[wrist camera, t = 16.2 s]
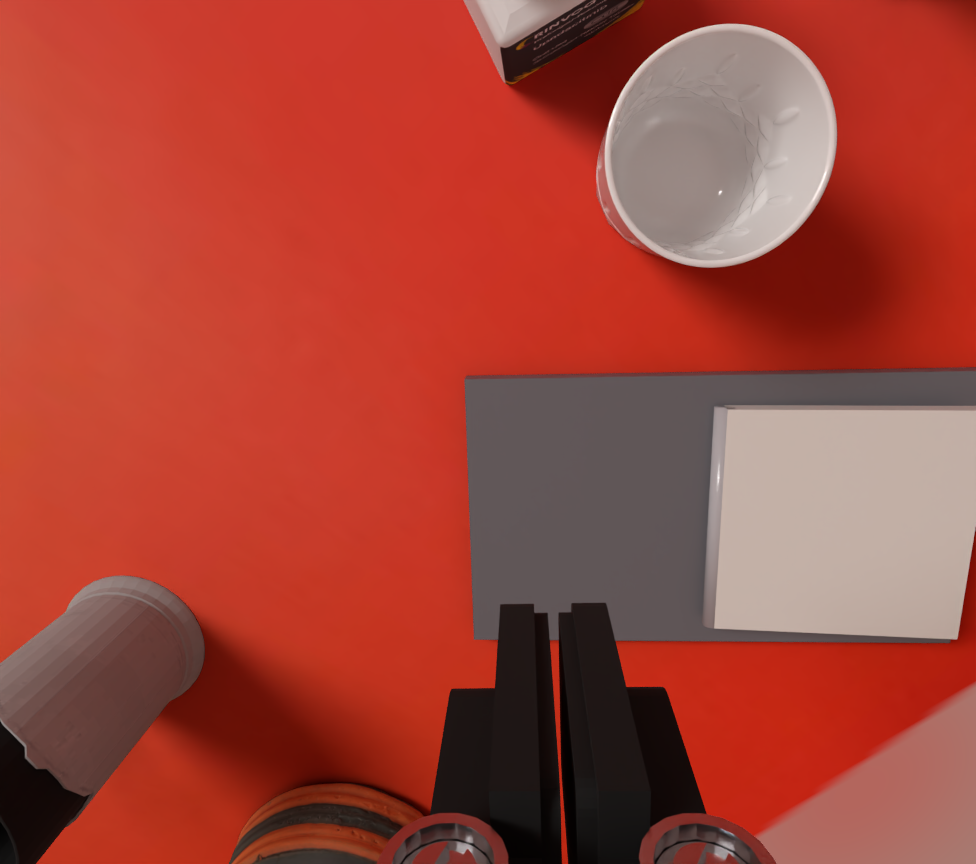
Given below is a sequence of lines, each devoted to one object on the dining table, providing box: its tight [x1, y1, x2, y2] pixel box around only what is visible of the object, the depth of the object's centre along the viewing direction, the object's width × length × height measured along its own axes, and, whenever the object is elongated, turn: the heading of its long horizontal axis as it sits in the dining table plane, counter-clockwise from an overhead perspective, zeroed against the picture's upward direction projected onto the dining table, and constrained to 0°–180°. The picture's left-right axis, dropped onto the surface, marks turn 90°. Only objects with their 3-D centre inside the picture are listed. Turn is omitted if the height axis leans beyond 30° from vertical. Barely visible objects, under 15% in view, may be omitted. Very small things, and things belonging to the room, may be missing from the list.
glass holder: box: [0, 576, 205, 864], centre depth 36 cm, size 9×14×15 cm, turn 126°
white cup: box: [596, 24, 837, 268], centre depth 29 cm, size 8×8×10 cm
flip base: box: [465, 367, 976, 643], centre depth 37 cm, size 26×15×1 cm, turn 92°
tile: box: [702, 405, 976, 639], centre depth 35 cm, size 12×12×1 cm
